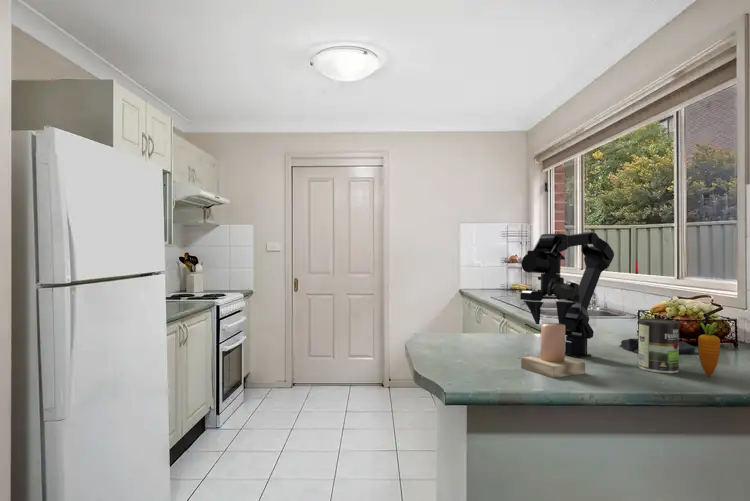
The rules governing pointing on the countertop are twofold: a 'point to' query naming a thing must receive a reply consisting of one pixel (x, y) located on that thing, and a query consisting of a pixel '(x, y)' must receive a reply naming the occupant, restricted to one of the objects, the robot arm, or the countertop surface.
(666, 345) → the coffee can
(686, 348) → the dark slate chunk
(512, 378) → the countertop surface
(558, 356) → the terracotta canister
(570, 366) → the oak slab
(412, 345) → the countertop surface
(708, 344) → the carrot
